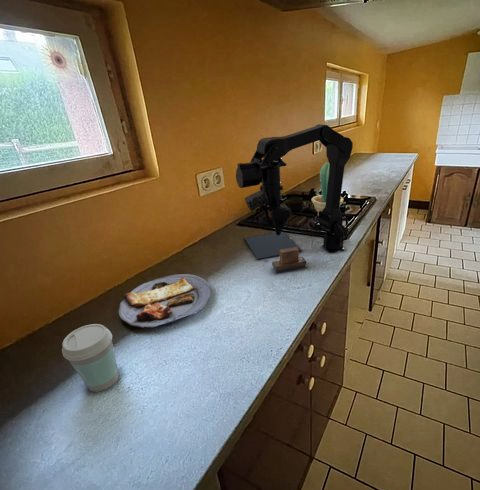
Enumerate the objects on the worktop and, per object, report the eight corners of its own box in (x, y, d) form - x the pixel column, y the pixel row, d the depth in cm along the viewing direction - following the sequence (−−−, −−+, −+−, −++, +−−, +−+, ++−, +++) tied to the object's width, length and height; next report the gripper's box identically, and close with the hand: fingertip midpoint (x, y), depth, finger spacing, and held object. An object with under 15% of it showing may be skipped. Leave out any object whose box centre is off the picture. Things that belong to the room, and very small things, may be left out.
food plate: (122, 343, 73) (118, 332, 71) (117, 296, 91) (114, 286, 90) (221, 311, 83) (219, 300, 81) (199, 274, 101) (197, 265, 99)
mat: (283, 232, 130) (283, 231, 130) (301, 251, 113) (301, 250, 113) (244, 239, 126) (244, 238, 125) (257, 259, 109) (257, 258, 108)
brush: (302, 262, 106) (302, 244, 102) (306, 267, 102) (306, 249, 99) (272, 268, 103) (271, 250, 100) (275, 274, 99) (275, 255, 96)
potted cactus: (321, 222, 139) (323, 167, 128) (305, 212, 152) (305, 161, 140) (349, 216, 145) (353, 163, 133) (331, 207, 157) (333, 158, 146)
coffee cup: (92, 366, 67) (73, 323, 61) (131, 362, 67) (116, 320, 62) (72, 400, 59) (48, 355, 54) (117, 395, 60) (98, 350, 54)
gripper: (239, 179, 98) (244, 224, 105) (252, 193, 82) (257, 245, 89) (272, 175, 100) (274, 219, 108) (291, 188, 85) (292, 239, 92)
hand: (273, 229), depth 99 cm, fingers open, 9 cm apart
